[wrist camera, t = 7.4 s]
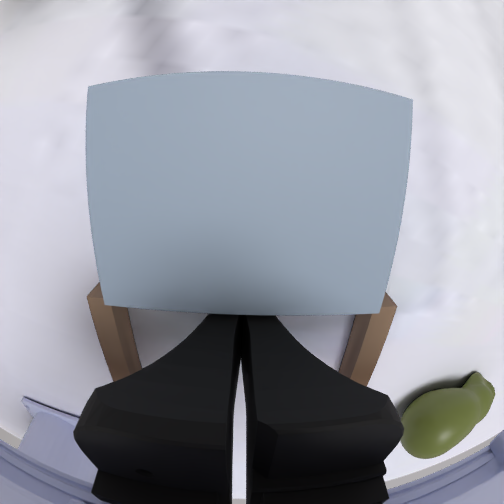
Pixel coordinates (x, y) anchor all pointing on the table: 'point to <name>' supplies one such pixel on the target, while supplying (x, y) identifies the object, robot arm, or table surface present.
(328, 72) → the table surface
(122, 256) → the block
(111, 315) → the chute
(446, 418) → the pear
